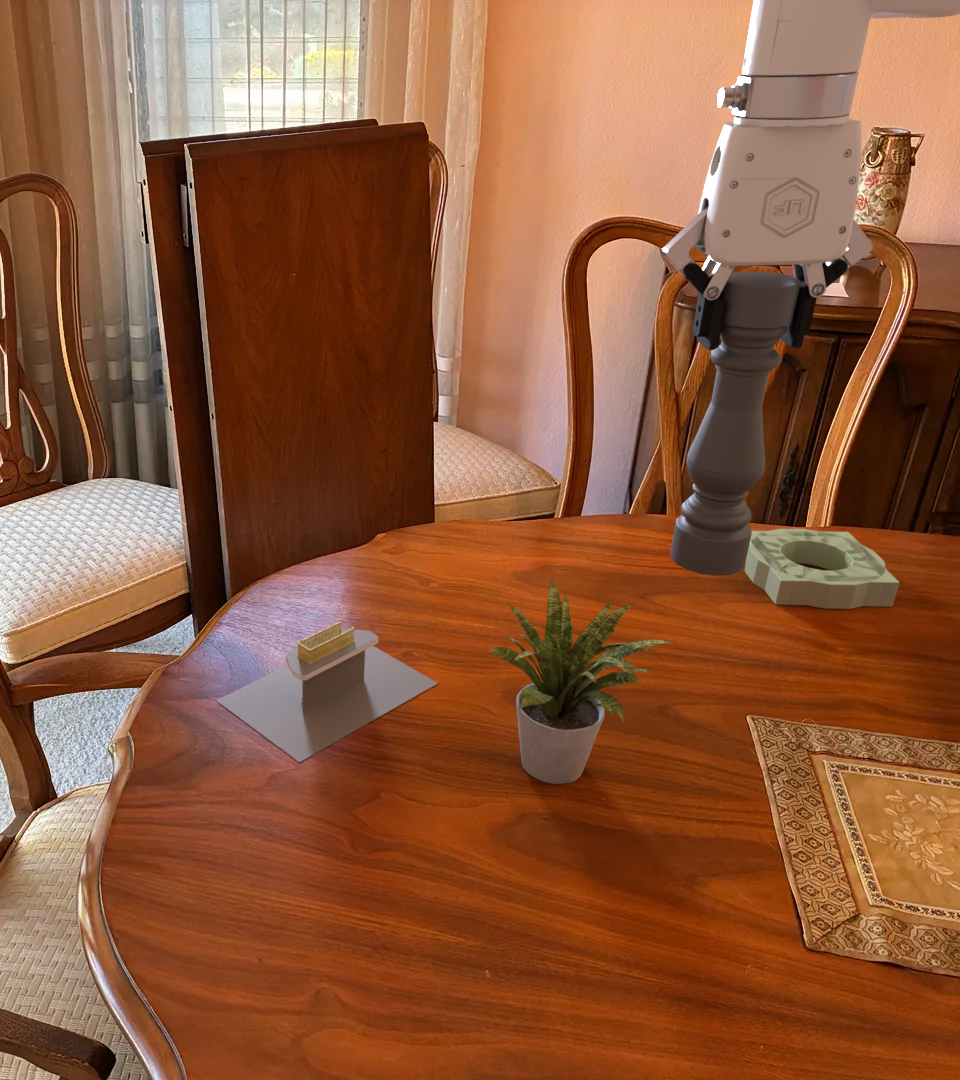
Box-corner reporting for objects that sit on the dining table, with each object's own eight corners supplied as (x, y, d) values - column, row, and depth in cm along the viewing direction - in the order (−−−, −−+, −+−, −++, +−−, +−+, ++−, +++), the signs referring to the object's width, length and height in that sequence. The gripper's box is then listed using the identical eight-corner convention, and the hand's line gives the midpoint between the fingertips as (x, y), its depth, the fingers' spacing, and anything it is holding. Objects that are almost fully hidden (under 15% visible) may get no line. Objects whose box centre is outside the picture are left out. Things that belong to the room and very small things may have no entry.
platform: (216, 700, 95) (213, 642, 92) (351, 633, 105) (352, 579, 102) (299, 762, 87) (299, 701, 84) (438, 683, 97) (442, 625, 94)
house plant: (595, 860, 76) (627, 683, 68) (436, 783, 84) (449, 618, 76) (664, 764, 85) (699, 599, 78) (515, 703, 93) (534, 549, 86)
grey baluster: (749, 551, 91) (807, 273, 79) (740, 581, 86) (801, 291, 75) (676, 538, 94) (722, 268, 82) (664, 566, 89) (711, 284, 78)
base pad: (845, 551, 118) (851, 529, 116) (901, 610, 106) (909, 585, 105) (728, 550, 119) (733, 527, 118) (771, 607, 107) (777, 583, 106)
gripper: (686, 110, 70) (650, 360, 78) (947, 99, 68) (882, 355, 77) (656, 103, 77) (626, 334, 85) (892, 93, 75) (838, 329, 83)
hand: (748, 342), depth 81 cm, fingers closed on grey baluster, 5 cm apart
